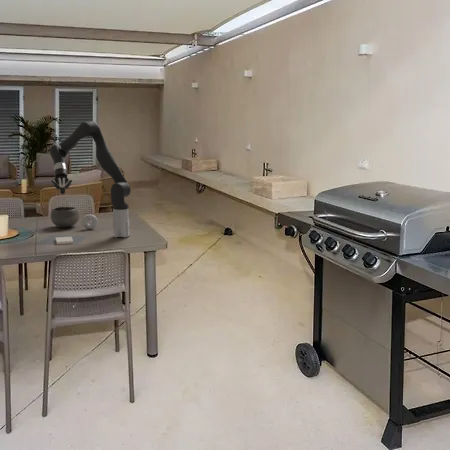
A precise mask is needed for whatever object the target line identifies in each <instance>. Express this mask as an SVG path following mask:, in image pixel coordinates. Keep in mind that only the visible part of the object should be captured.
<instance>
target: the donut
mask: <svg viewBox="0 0 450 450" xmlns="http://www.w3.org/2000/svg"><path fill="white" fill-rule="evenodd" d="M89 220H91V221H92V223H91V224H90V223H88V221H89ZM98 223H99V221H98V218H97V216H95V215H94V214H89V213H88V214H86V215H84V216H83V218H82V220H81V224H82V226H83V227H84V228H85V229H86V230H93V229H95V228H96V227H97V226H98Z"/></svg>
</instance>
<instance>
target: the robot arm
mask: <svg viewBox="0 0 450 450" xmlns="http://www.w3.org/2000/svg"><path fill="white" fill-rule="evenodd" d="M90 137H91V138H92V139H93V141H94V144H95V157H96V160H97V162H98V164H99V166H100V167H101V169H102V170H103V171H104V172H106V174H108V175H109V176H110V177H111V179H112V181H114V183H113V184H111V187H110V198H111V199H110V200H111V201H110V202H111V205H112V213H113V215H112V216H113V221H112V223H113V224H112V225H113V237H114V238H117V237H124V238H129V237H130V236H131V232H130V231H131V230H130V223H131V222H130V218H129V216H130V215H129V213H130V212H129V203H127V202H125V197H128V196H130V194H131V190H132V189H131V186H130V184H129V182H128V181H127V179H126V178H125V177H124V175H123V173H122V171H121V169H120V167H119V166H118V164H117V162H116V159H115V158H114V156H113V154H112V152H111V150H110V149H109V146H108V144H107V142H106V140H105V139H104V136H103V133H102V130H101V128H100V125H99V124H98V123H97V122H96V121H93V120H90V121H89V120H88V121H83V122H80V124H79V125H78V126H77V128H75V130H74V131H73V132H72V133H71V134H70V135H69V136H68V137H66V138H64V140H63V141H61V142H60V144H59V145H58V144H53V145H51V146H50V148H49V153H50V156H51V159H52V161H53V173H54V179H53V180H51V182H50V184H51V185H52V187H54V188H55V189H57V190H59V193H60V194H61V195H65V194H66V190H68V189H69V187H70V186H71V185H72V184H73V180H72V179H69V177H68V168H67V164H66V159H65V158H66V157H67V156H68V154H69V153H70V151H72V149H74V148H75V147H76V146H77V145H78V143H79V141H80V140H82V139H84V138H90ZM129 235H130V236H129ZM128 236H129V237H128Z"/></svg>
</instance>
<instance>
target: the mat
mask: <svg viewBox="0 0 450 450" xmlns="http://www.w3.org/2000/svg"><path fill="white" fill-rule="evenodd" d="M88 236H89V235H79V234H78V235H74V234H73V235H72V234H71V235H69V234H67V235H63V234H62V235H61V234H60V235H59V234H55V235H54V234H51V235H47V236H46V237H44V238H42V239H41V240H40V241H38V242H37V243H36V245H57V243H56V237H72V239H73V244H61V245H67V246H68V245H69V246H72V245H74V246H76V245H79V244H81V243H82V242H83V241H84V240H86V238H88Z"/></svg>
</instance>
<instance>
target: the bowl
mask: <svg viewBox="0 0 450 450" xmlns="http://www.w3.org/2000/svg"><path fill="white" fill-rule="evenodd" d="M50 220H51V223H53V224H54V226H56V227H58V228H64V229H67V228H71V227H73V226H74V225H76V224H77V223H78V222H79V220H80V214H79V211H78V209H77V207H76V206H75V207H73V206H57V207H53V208H52V209H51V212H50Z"/></svg>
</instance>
